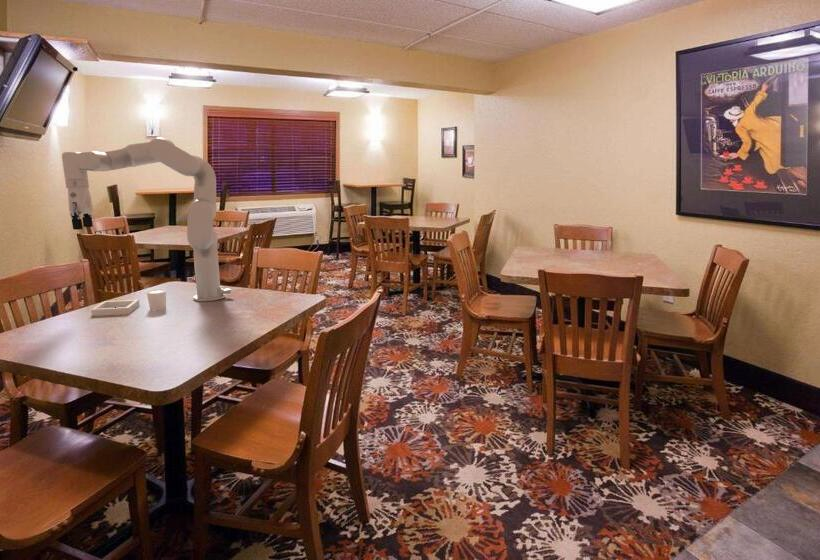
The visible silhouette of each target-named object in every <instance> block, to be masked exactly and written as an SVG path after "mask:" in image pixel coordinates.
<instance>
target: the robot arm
mask: <svg viewBox="0 0 820 560" xmlns="http://www.w3.org/2000/svg"><path fill="white" fill-rule="evenodd" d="M61 160H62V167H63V175H64V181H65V189H67V194H68V196H67V197H68V207H69V209H68V211H69V212H70V213H69V215H70V219H71V225H72V229H73V230H74V231H75V230H79V231H80V230H83V228H92V227H94V225H93V218H92V217H93V215H92V213H93V212H94V208H93V202H92V197H91V193H90V190H89V189H90V184H89V178H88V177H89V174H88V171H89V172H109V171H116V170H121V169H122V170H123V169H126V168H132V167H133V168H135V167H140V166H145V165H150V164H151V165H152V164H156V163H157V164H158V163H161V164H163V165H165V166H166V167H168V168H169V169H172V170H173V171H175V172H177V173H178V174H180V175H183V176H185V177H192V178H193V179H194V186H193V201H192V202H191V203H190V204H189V206H188V210H187V219H186V220H187V225H186V229H187V230H186V237H187V242H188V245H189V246H190V247H191V248H192V249H193V265H194V277H195V285H196V286H195V288H196V294H195V295H193V301H196V302H213V301H219V299H220V300H222V298H223V299H224V298H225V297H226V296H225V295H228V294H229V295H230V294H232V289H231V288H223V286H222V285H221V281H220V280H221V277H220V265H219V252H218V251H219V250H218V247H219V245H218V244H219V242H218V235H217V234H218V233H217V231H216V229H215V228H214V219H215V217H216V215H217V177H216V171H215V170H214V169H213V167H212V166H211V164H210V163H209V162H207V161H206V160H205V159H203V158H202V157H200V156H198V155H195V154H190V153H188V152H186V151H185V150H183V149H182V148H179V147H178V146H176V145H175V143H173V141H172V140H171V139H167V138H163V137H155V138H152V139H150V140H148V141H143V142H136V143H130V144H128V145H126V146H125V147H123V148H121V149H120V148H119V149H114V150H109V151H93V150H92V151H91V150H90V151H83V152H79V151H64V152H62V154H61ZM81 216H82V218H81Z"/></svg>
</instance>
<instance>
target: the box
mask: <svg viewBox="0 0 820 560" xmlns="http://www.w3.org/2000/svg"><path fill="white" fill-rule="evenodd" d="M138 306H139V307H140V299H126V300H125V299H124V300H104V301H102V302H101V303H98V305H96V306H94V307H93V308H91V309H90V311H91V317H97V316H98V317H100V316H102V317H103V316H116V315H117V316H119V315H120V314H122V315H130V314H131V313H132V312H134V311H135V310H136V309H137V308H138ZM115 307H116V308H115ZM133 310H134V311H133ZM120 316H121V315H120Z"/></svg>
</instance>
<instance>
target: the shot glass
mask: <svg viewBox="0 0 820 560" xmlns="http://www.w3.org/2000/svg"><path fill="white" fill-rule="evenodd" d="M146 296H147V300H148V301H147V302H148V307H149V309H150V311H153V310H156V311H163V310H165V309H167V291H166V290H165V289H154V290H149V291H146ZM162 309H163V310H162Z"/></svg>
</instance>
